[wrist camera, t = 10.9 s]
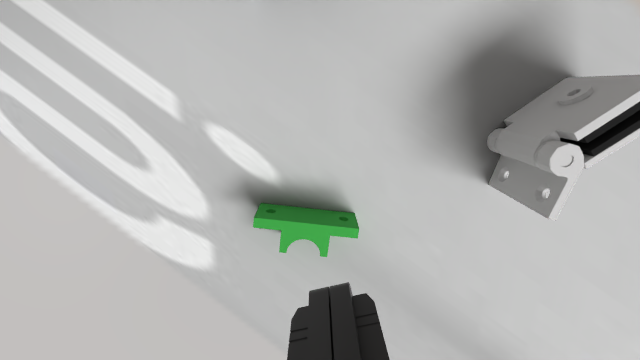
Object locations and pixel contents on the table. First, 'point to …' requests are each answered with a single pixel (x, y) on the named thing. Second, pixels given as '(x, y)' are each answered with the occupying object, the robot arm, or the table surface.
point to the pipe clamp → (306, 224)
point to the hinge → (563, 138)
